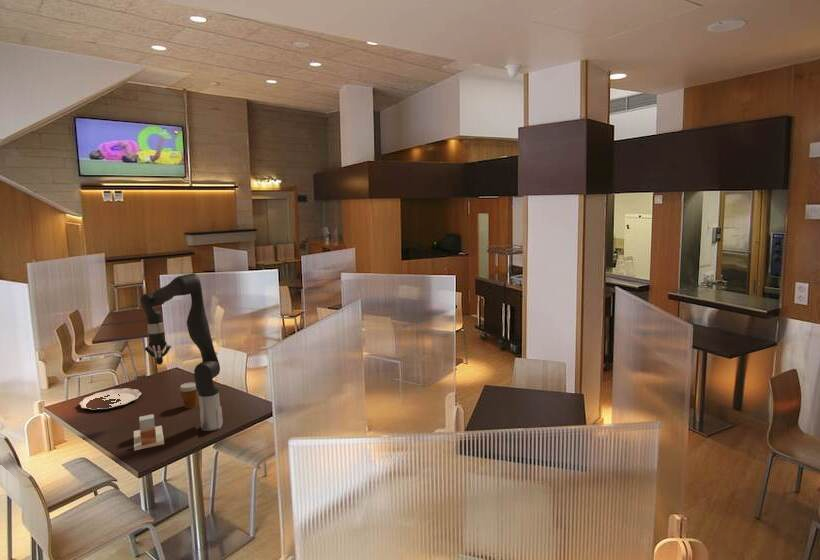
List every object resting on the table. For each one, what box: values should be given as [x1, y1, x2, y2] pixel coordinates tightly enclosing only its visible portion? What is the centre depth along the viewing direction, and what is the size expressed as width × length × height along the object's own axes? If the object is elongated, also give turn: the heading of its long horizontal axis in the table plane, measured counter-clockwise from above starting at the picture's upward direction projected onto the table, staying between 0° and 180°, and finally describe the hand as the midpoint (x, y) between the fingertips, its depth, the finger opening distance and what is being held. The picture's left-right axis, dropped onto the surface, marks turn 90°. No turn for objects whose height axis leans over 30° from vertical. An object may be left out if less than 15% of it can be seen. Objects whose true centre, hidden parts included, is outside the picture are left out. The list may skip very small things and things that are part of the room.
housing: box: [133, 425, 165, 451], centre depth 237 cm, size 22×12×2 cm, turn 28°
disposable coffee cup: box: [179, 381, 199, 409], centre depth 275 cm, size 10×10×12 cm
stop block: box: [140, 428, 156, 445], centre depth 231 cm, size 2×6×6 cm, turn 118°
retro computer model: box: [138, 413, 156, 431], centre depth 238 cm, size 6×6×9 cm
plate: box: [78, 387, 142, 411], centre depth 285 cm, size 29×29×2 cm
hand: (159, 364), depth 264 cm, fingers closed
